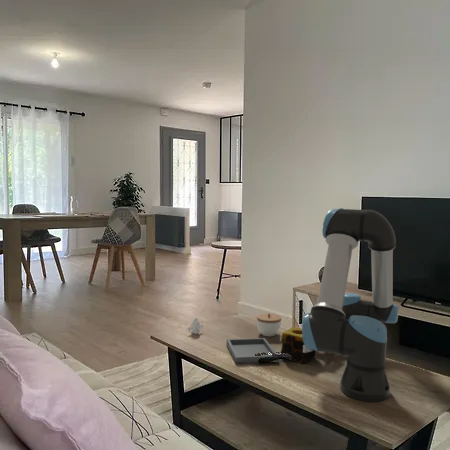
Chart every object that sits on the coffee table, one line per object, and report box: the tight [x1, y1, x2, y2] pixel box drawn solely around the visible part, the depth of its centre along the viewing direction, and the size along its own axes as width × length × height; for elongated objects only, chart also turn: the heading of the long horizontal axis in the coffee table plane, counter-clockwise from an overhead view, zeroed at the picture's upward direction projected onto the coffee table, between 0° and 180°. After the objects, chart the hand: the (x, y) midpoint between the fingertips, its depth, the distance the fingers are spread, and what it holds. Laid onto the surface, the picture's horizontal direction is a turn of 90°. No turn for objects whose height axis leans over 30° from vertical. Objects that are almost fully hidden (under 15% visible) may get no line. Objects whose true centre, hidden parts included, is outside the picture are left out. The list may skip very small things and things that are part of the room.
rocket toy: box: [187, 316, 204, 335], centre depth 195 cm, size 5×5×8 cm
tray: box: [226, 337, 279, 365], centre depth 173 cm, size 20×16×2 cm
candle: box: [280, 326, 316, 365], centre depth 170 cm, size 10×10×10 cm
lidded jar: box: [256, 312, 282, 337], centre depth 197 cm, size 11×11×9 cm
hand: (291, 343), depth 168 cm, fingers closed on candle, 13 cm apart
